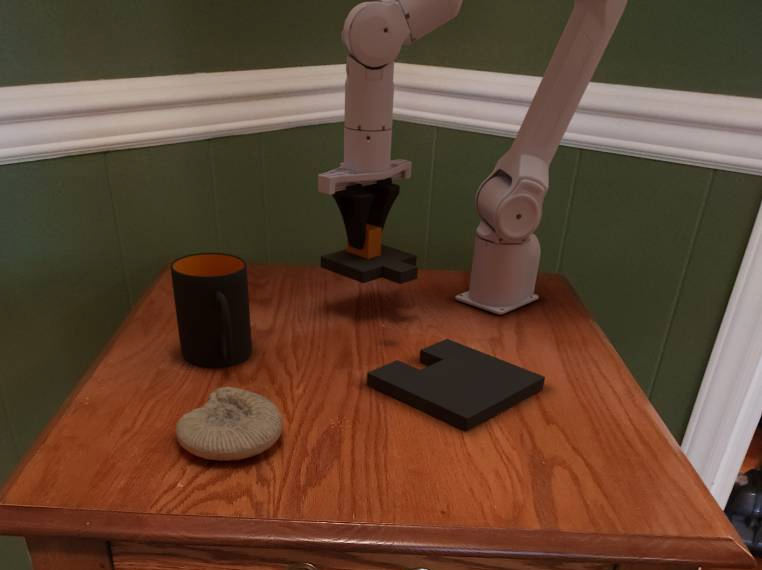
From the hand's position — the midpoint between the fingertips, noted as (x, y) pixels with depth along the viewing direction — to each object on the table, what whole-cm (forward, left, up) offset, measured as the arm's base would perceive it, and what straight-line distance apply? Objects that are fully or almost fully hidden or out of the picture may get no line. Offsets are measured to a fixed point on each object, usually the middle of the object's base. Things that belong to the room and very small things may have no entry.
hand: (364, 245), depth 95 cm
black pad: (0, +3, -3) cm, 4 cm away
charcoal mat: (+10, +24, -8) cm, 28 cm away
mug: (+25, +1, -8) cm, 26 cm away
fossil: (+35, +16, -8) cm, 40 cm away
